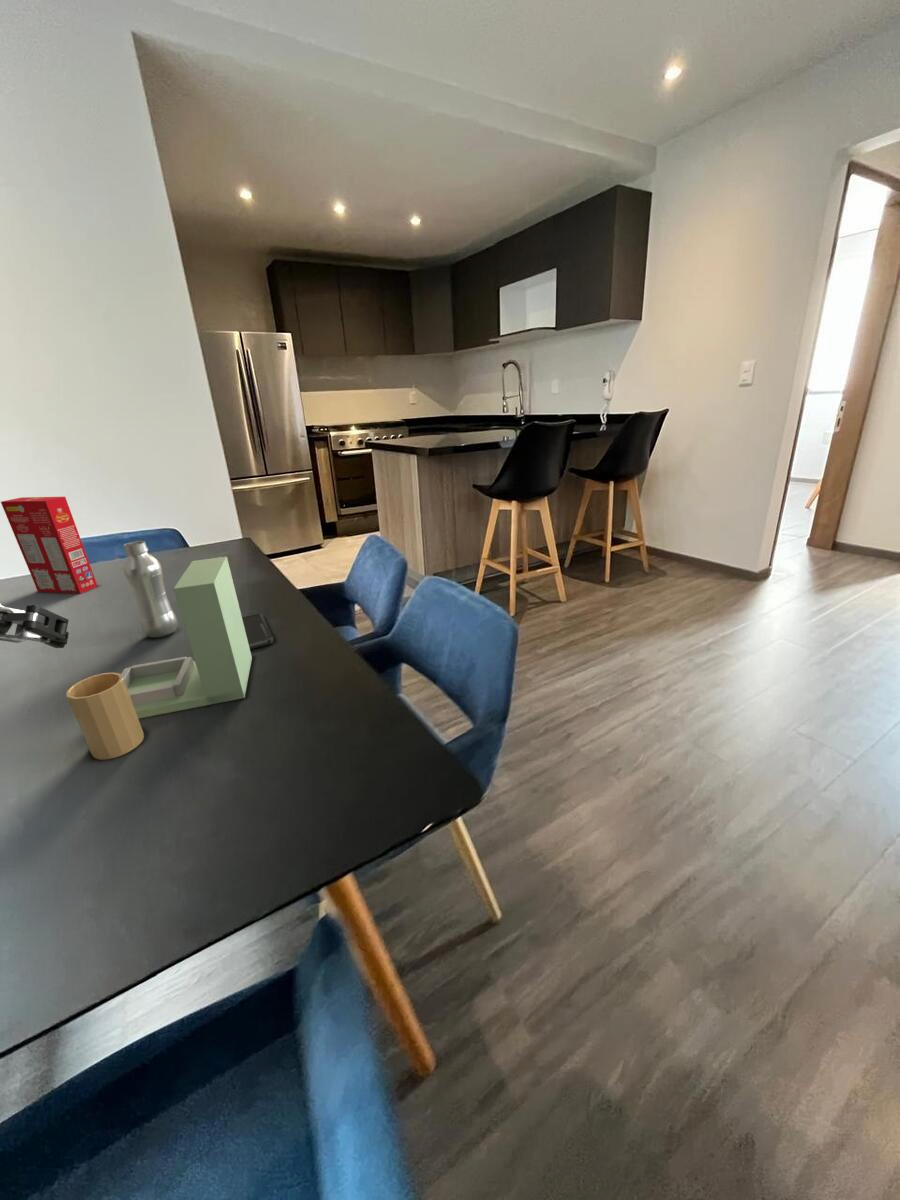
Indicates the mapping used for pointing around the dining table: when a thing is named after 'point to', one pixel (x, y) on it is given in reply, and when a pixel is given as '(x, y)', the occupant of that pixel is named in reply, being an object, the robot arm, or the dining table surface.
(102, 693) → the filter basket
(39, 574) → the food packaging
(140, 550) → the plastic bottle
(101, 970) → the dining table surface
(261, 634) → the phone
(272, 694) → the dining table surface
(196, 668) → the coffee maker
